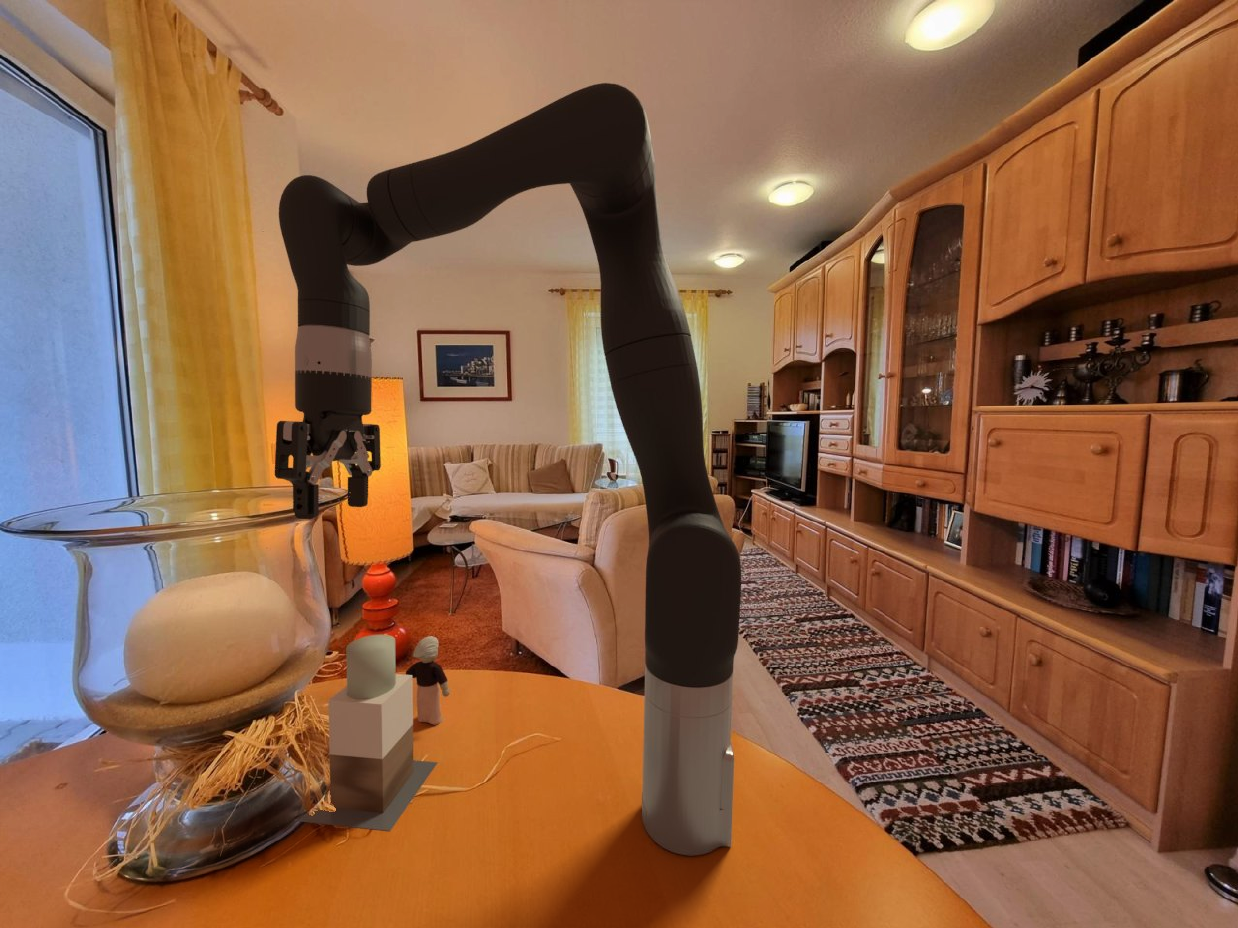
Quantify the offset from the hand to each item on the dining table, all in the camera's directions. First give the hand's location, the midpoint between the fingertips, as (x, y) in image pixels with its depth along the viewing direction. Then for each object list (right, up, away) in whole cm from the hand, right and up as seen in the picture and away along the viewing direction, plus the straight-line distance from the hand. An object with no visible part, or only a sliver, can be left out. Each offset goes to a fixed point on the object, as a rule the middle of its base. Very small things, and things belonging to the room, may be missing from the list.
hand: (334, 511), depth 55 cm
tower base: (+5, -31, -2) cm, 32 cm away
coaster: (+5, -32, -2) cm, 33 cm away
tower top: (+6, -25, -2) cm, 26 cm away
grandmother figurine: (+6, -32, +12) cm, 34 cm away
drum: (+6, -19, -2) cm, 20 cm away
